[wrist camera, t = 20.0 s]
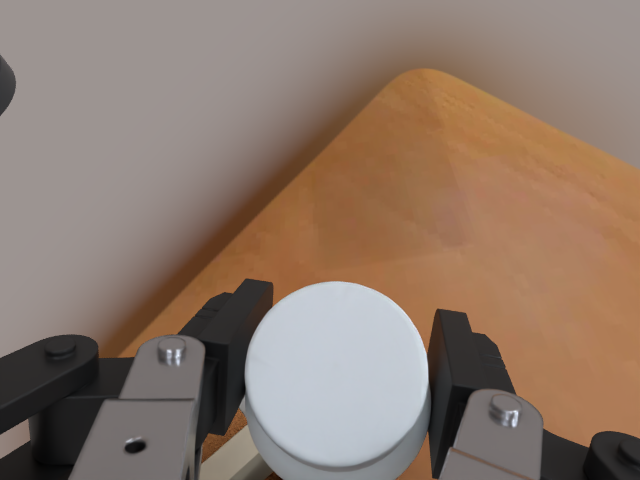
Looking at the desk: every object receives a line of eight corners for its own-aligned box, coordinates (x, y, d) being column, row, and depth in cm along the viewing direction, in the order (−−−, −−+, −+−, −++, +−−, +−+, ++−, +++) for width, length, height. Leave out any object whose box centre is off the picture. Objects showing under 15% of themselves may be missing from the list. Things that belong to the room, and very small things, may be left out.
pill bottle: (259, 486, 15) (190, 480, 8) (283, 347, 17) (244, 248, 10) (402, 508, 14) (457, 521, 8) (408, 362, 16) (457, 270, 10)
